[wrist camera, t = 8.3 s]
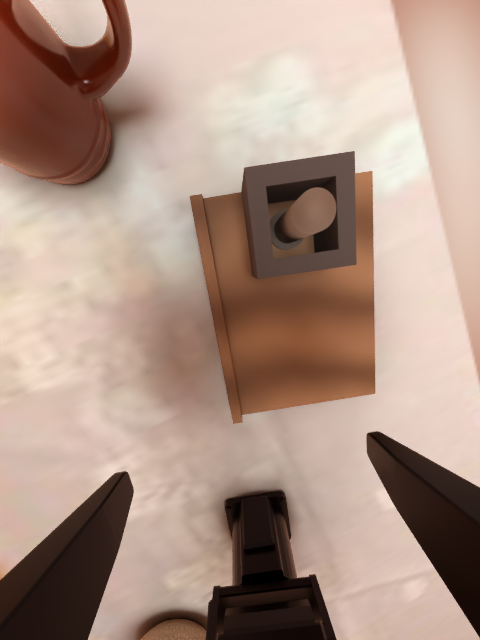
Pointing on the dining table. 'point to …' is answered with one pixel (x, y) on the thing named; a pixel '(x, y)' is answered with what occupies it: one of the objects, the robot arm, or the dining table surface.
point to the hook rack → (289, 304)
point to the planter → (176, 631)
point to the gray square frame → (289, 185)
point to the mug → (57, 93)
